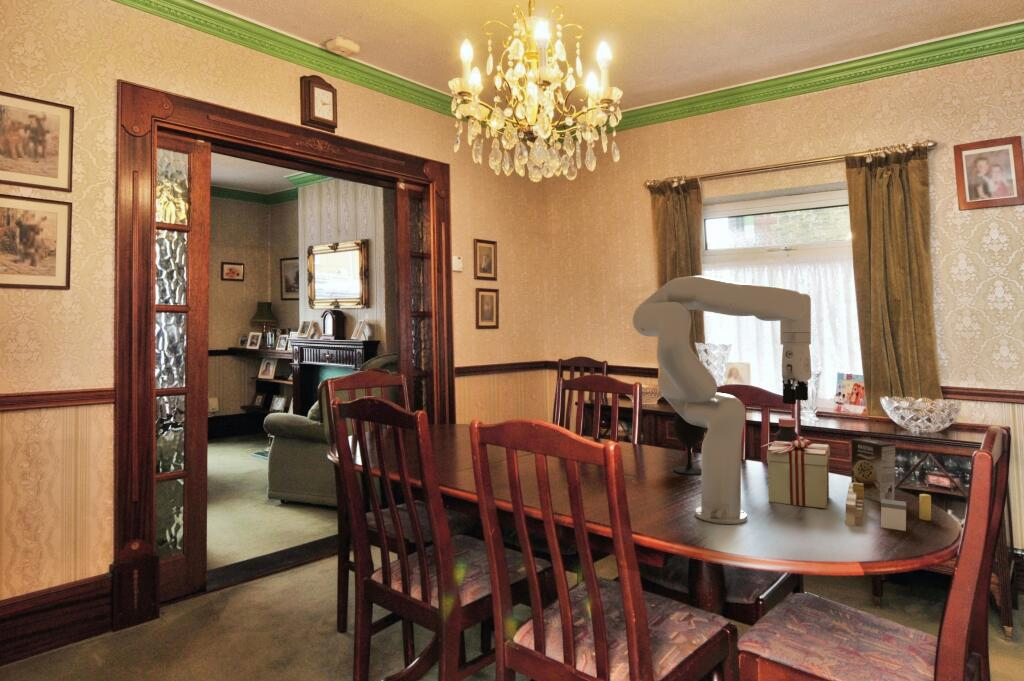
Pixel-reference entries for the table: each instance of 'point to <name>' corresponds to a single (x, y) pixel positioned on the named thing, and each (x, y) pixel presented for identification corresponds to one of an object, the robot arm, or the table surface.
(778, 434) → the bottle
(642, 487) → the table surface
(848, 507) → the comb fence
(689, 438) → the wine glass
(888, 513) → the beige square box
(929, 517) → the post
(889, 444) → the coffee box
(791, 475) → the gift box
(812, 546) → the table surface
